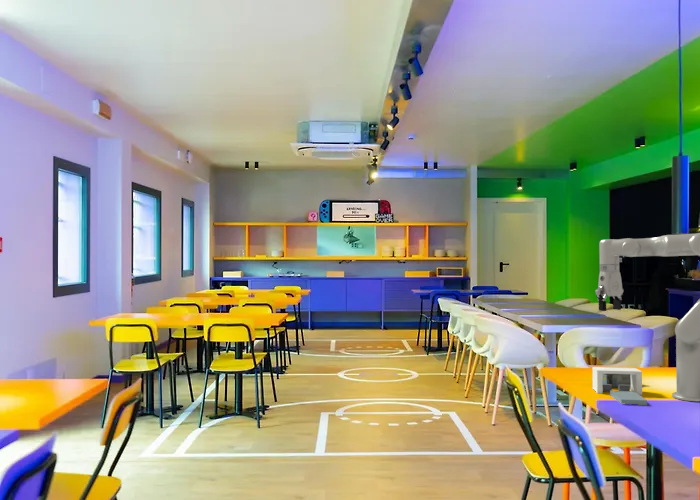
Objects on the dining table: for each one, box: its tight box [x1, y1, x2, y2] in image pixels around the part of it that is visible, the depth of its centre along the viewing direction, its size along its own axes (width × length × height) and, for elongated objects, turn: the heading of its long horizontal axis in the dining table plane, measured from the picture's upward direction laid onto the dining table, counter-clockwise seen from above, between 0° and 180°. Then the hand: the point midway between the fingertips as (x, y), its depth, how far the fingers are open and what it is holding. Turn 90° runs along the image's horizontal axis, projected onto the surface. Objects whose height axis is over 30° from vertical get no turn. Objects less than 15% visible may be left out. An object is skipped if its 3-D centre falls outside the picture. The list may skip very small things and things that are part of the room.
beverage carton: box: [603, 374, 631, 389], centre depth 260 cm, size 8×19×7 cm, turn 118°
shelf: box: [592, 366, 643, 396], centre depth 246 cm, size 17×8×9 cm, turn 81°
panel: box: [609, 389, 648, 406], centre depth 231 cm, size 9×16×2 cm, turn 171°
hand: (609, 310), depth 249 cm, fingers open, 9 cm apart
